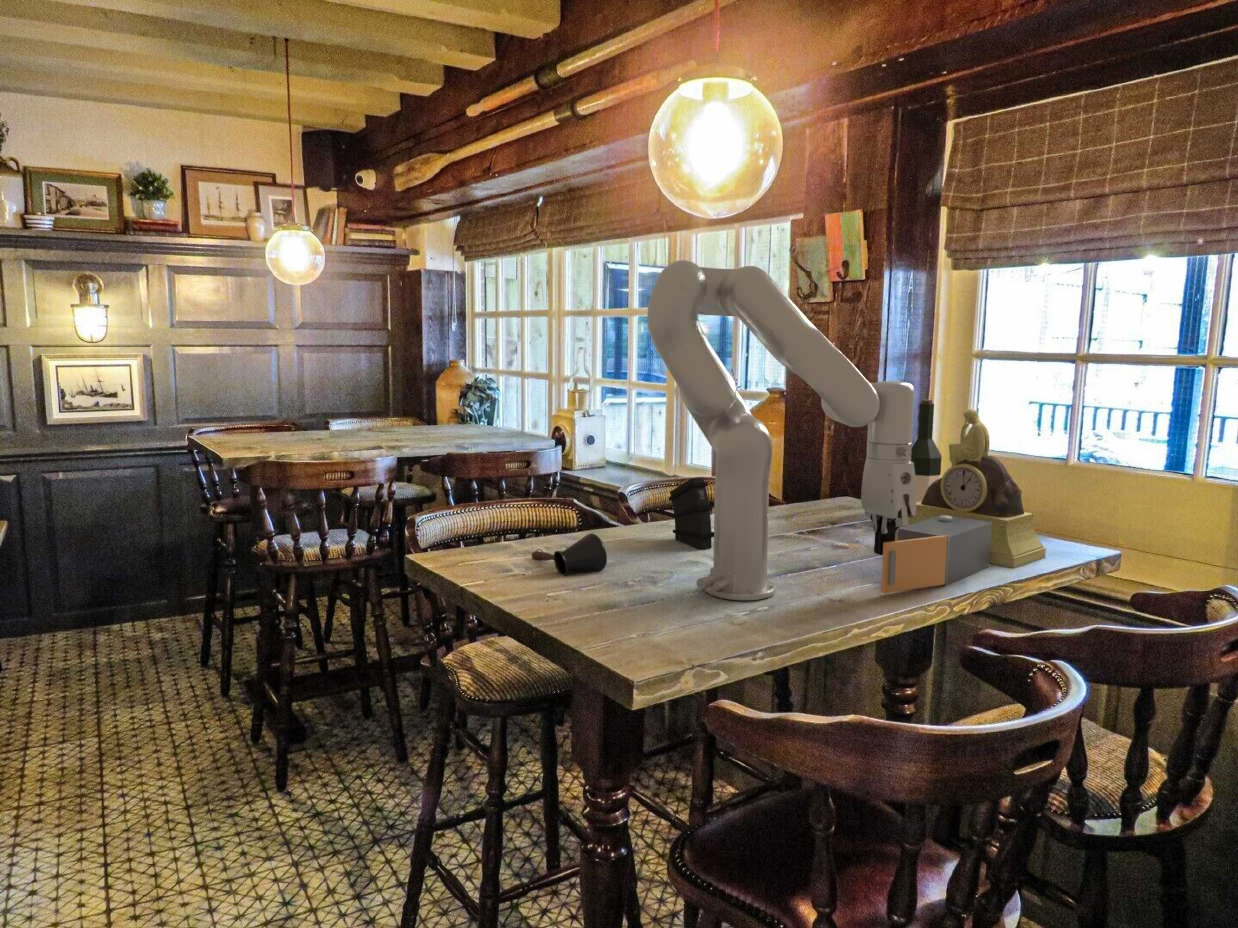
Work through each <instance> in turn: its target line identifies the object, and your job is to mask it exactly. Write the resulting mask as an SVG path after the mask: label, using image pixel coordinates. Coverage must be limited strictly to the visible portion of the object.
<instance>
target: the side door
mask: <svg viewBox="0 0 1238 928" xmlns="http://www.w3.org/2000/svg"><path fill="white" fill-rule="evenodd" d="M949 542H950V535H942V536H933V537H925V538H917V539H909V540H900V541H892V542H884V543H883V555H882V563H881V564H882V565H881V583H880V584H881V585H880V586H881V589H880V592H881V593H883V594H889V593H896V592H901V591H902V592H903V591H909V590H915V589H922V588H923V589H924V588H928V587H930V588H931V587H935V586H944V585H943V584H947V576H948V559H949Z"/></svg>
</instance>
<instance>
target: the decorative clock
mask: <svg viewBox="0 0 1238 928" xmlns="http://www.w3.org/2000/svg"><path fill="white" fill-rule="evenodd" d="M963 416H964V420H965V422H964V424H963V425H962V427H961V431H960V442H950V443H949V444H948V450H949V452H948V453H949V462H950V463H951V467H949V468H947V470H946V471H945V472H944V473H943V475H942V477H941V478H940V479H938V480H936V481H934V482H933V483H932V484H931V485H930V486H929V487H928V489H927V491H926V494H925V496H924V498H923V500H922V501H921V502H916V514H915V516H914V517H908V525H911V524H915V523H918V522H921V521H924V520H927V519H931V518H934V517H937V516H940V515H948V516H954V517H961V518H967V519H973V520H980V521H986V522H992V527H991V542H990V558H989V564H995V565H998V566H1004V567H1008V568H1012V569H1014V568H1019V567H1020V566H1023V565H1027V564H1029V563H1032V562H1035V561H1038V560H1041V559H1043V558H1046V553H1047V552H1046V551H1047V547H1044V545H1043V544H1042V542H1041V541H1040V539H1039V538H1038V535H1037V534H1036V532H1035V531H1036V530H1035V527H1034V522H1033V521H1034V520H1033V519H1034V513H1032V512H1025V510H1024V505H1023V502H1022V501H1023V500H1022V490H1021V489H1020V488H1019V486H1018V484H1017V483H1016V482H1015V481H1014V480H1013V477H1011V475H1010V473H1009V472H1008V470H1007V468H1006V466H1005V465H1004V464H1003V463H1002V462H1001V461H1000V460H999V459H998V458H997V457H995V456H993V455H989V449H990V443H991V442H990V435H989V430H988V428H987V427H986V425H985V423H983V422H982V420H981V419H980V417H979V413H978V411H977V410H975V409H973V408H969V409H967V410H965V411H964V413H963ZM969 425H972V426H971V427H969ZM967 428H969V429H968V432H967V434H966V429H967ZM899 528H902V527H899ZM895 541H898V532H897V533H895Z"/></svg>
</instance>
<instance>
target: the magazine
mask: <svg viewBox="0 0 1238 928" xmlns="http://www.w3.org/2000/svg"><path fill="white" fill-rule="evenodd" d="M708 486H709V483H708V481H705V478H704V477H703V476H702V477H693V478H690V479H688V480H687V481H685V482H684V483H682V484H681V485H679V486H677V487H675V488H674V489H672V490H670V491H669V494H670V496H669V497H668V501H669V502H671V504H672V507H673V514H671V518H674V527H675V528H674V529H673V530H672V534H674V536H675V537H674V539H675V541H679V542H680V543H682V544H685V545H688V546H690V547H693V548H695V549H698V550H701V551H703V550H710V549H712V538H714V531H712V520H711V510H713V506H712V505H713V504H710V502H709V496H708V495H709V494H708V492H707V490H708V489H707V487H708Z"/></svg>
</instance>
